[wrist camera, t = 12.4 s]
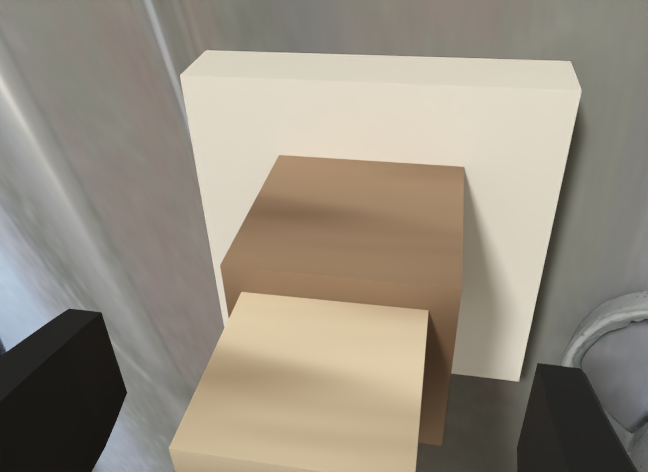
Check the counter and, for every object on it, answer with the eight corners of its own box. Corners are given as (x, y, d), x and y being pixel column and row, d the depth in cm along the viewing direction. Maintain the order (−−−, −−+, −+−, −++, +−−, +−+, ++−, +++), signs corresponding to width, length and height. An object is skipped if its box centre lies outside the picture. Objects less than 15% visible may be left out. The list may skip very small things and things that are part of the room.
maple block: (418, 433, 15) (404, 608, 12) (259, 412, 16) (205, 571, 12) (428, 310, 13) (414, 485, 9) (241, 291, 13) (168, 448, 10)
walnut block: (447, 309, 19) (441, 446, 15) (290, 293, 20) (245, 418, 16) (464, 166, 16) (462, 288, 12) (279, 155, 17) (220, 265, 13)
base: (515, 338, 22) (518, 381, 20) (244, 309, 23) (227, 346, 22) (570, 60, 16) (581, 90, 14) (206, 50, 18) (179, 75, 16)
